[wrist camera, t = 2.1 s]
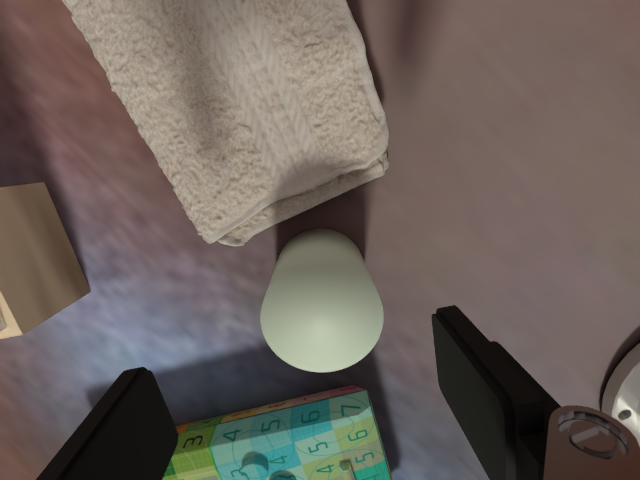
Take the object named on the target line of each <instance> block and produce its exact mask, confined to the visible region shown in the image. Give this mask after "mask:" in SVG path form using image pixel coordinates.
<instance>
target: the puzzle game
mask: <svg viewBox="0 0 640 480" xmlns="http://www.w3.org/2000/svg"><path fill="white" fill-rule="evenodd" d="M175 427H176V429H177V432H178V443H177V446H176V449H175V451H174V453H173V456H172V458H171V460H170V463H169V465H168V467H167V470H166V472H165V474H164V477H163V479H162V480H393V479H392V475H391V472H390V468H389V465H388V461H387V457H386V454H385V450H384V447H383V443H382V439H381V436H380V432H379V428H378V425H377V421H376V418H375V414H374V410H373V407H372V403H371V400H370V396H369V392H368V390H365V389H363V388H360V387H357V386H353V385H349V386H345V387H341V388H336V389H332V390H328V391H324V392H319V393H315V394H311V395H306V396H302V397H298V398H294V399H289V400H285V401H281V402H277V403H272V404H268V405H264V406H259V407H255V408H251V409H247V410H242V411H238V412H234V413H229V414H225V415H221V416H217V417H212V418H208V419H204V420H200V421H195V422H191V423H187V424H182V425H178V426H175Z"/></svg>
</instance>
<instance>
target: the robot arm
mask: <svg viewBox="0 0 640 480" xmlns="http://www.w3.org/2000/svg"><path fill="white" fill-rule="evenodd" d="M432 326H433V335H434V345H435V354H436V364H437V373H438V382H439V386H440V389H441V392H442V394H443V396H444V397H445V399H446V401H447V403H448V405H449V407H450V408H451V410H452V412H453V414H454V416H455V417H456V419H457V421H458V423H459V425H460V426H461V428H462V430H463V432H464V434H465V436H466V437H467V439H468V441H469V443H470V445H471V446H472V448H473V450H474V452H475V454H476V455H477V457H478V459H479V461H480V463H481V464H482V466H483V468H484V470H485V472H486V474H487V475H488V477H489V479H490V480H640V343H639V344H637V345H636V346H635V347H634V348H633V349H632V350H631V351H630V352H629V353H627V355H626V356H625V357H624V358H623V359H622V361H621V362H620V363H619V364H618V366H617V367H616V368H615V370H614V372H613V374H612V375H611V377H610V379H609V380H608V383H607V386H606V389H605V391H604V394H603V401H602V409H601V410H602V412H601V411H598V410H595V409H593V408H589V407H583V406H564V407H561V406H560V405H559V404H558V403H557V402H556V401H555V400H554V399H553V398H552V397H551V396H550V395H549V394H548V393H547V392H546V391H545V390H544V389H543V388H542V387H541V386H540V385H539V384H538V383H537V382H536V381H535V380H534V379H533V378H532V377H531V375H530V374H529V373H528V372H527V371H526V370H525V369H524V368H523V367H522V366H521V365H520V364H519V363H518V362H517V361H516V360H515V359H514V358H513V357H512V356H511V355H510V354H509V353H508V352H507V351H506V350H505V349H504V348H503V347H502V346H501V345H500V344H499V343H498V342H495V341H492V342H490V341H489V340H488V339H487V338H486V337H485V336H484V335H483V334H482V333H481V332H480V331H479V330H478V329H477V328H476V326H475V325H474V324H473V323H472V322H471V321H470V320H469V319H468V318H467V317H466V316H465V315H464V314H463V313H462V312H461V310H460V309H459V308H458V307H457V306H455V305H453V306H448V307H443V308H438V309H437V311H436V314H432ZM177 443H178V432H177V429H176V427H175V425H174V422H173V420H172V418H171V415H170V413H169V411H168V408H167V406H166V403H165V401H164V399H163V396H162V394H161V392H160V389H159V387H158V385H157V382H156V380H155V377H154V375H153V373H152V372H151V371H149V370H147V369H146V368H145V367H140V368H135V369H130V370H126V371H123V372H122V373H121V375H120V376H119V377H118V378H117V380H116V381H115V382H114V383H113V384H112V386H111V387H110V388H109V389H108V391H107V392H106V393H105V394H104V396H103V397H102V398H101V399H100V401H99V402H98V403H97V404H96V406H95V407H94V408H93V409H92V411H91V412H90V413H89V414H88V416H87V417H86V418H85V419H84V421H83V422H82V423H81V424H80V426H79V427H78V428H77V429H76V431H75V432H74V433H73V434H72V435H71V437H70V438H69V439H68V440H67V442H66V443H65V444H64V445H63V447H62V448H61V449H60V450H59V452H58V453H57V454H56V455H55V457H54V458H53V459H52V460H51V462H50V463H49V464H48V465H47V467H46V468H45V469H44V470H43V472H42V473H41V474H40V475H39V477H38V478H37V479H36V480H162V479H163V477H164V474H165V472H166V470H167V467H168V465H169V463H170V460H171V458H172V456H173V453H174V451H175V449H176V446H177Z"/></svg>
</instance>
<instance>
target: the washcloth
mask: <svg viewBox="0 0 640 480" xmlns="http://www.w3.org/2000/svg"><path fill="white" fill-rule="evenodd" d="M62 2H63V3H64V4H65V6H66V7H67V8H68V9H69V10H70V11H71V13H72V17H71V18H72V20H73V22H74V23H75V24H76V26H77V28H78V29H79V30H80V31H81V32H82V33H83V35H84V37H85V39H86V41H87V42H88V43H89V44H90V47H91V48H92V50H93V54H94V56H95V58H96V59H97V60H98V61H99V63H100V64H101V66H102V67H103V69H104V70H105V72H106V76H107V77H108V80H109V81H110V85H111V90H112V91H114V92H115V93H116V94H117V95H118V96H119V97H120V99H121V101H122V103H123V104H124V105H125V108H126V109H127V111H128V113H129V114H130V117H131V119H132V120H133V121H134V123H135V124H136V125H137V126H138V132H139V133H140V135H141V137H143V138H144V140H145V142H146V143H147V144H148V145H149V147H150V148H151V150H152V152H153V153H154V155H155V158H156V159H157V161H158V165H159V166H160V167H161V168H162V169H163V172H164V174H165V175H166V176H167V178H168V180H169V181H170V182H171V184H172V185H173V186H174V188H173V191H174V192H175V193H176V195H177V197H178V199H179V200H180V201H181V203H182V204H181V206H182V208H183V209H185V211H186V214H187V215H188V218H189V219H190V220H192V222H193V224H194V226H195V228H196V229H197V231H198V235H202V237H203V240H205V241H207V243H209V244H211V243H213V242H215V241H218V242H220V243H221V244H226V245H230V246H244V245H245V244H244V243H245V242H247V241H248V240H249V239H250V238H251V237H252V236H253V235H255V234H257V233H259V232H261V231H263V230H265V229H266V228H269V227H271V226H273V225H275V224H277V223H280V222H282V221H284V220H287V219H288V218H291V217H293V216H295V215H297V214H299V213H301V212H304V211H306V210H308V209H310V208H313V207H315V206H317V205H319V204H320V203H323V202H325V201H327V200H329V199H332V198H334V197H336V196H338V195H340V194H342V193H344V192H347V191H349V190H351V189H353V188H355V187H357V186H359V185H362V184H364V183H367V182H369V181H371V180H373V179H375V178H377V177H381V176H383V175H384V174H385V172H384V170H386V169H387V168H388V167H389V160H388V159H387V157H386V156H387V153H386V148H387V146H388V138H389V132H388V126H387V120H386V116H385V112H384V109H383V107H382V104H381V102H380V99H379V97H378V94H377V91H376V89H375V86H374V81H373V77H372V73H371V71H370V68H369V65H368V62H367V57H366V49H365V44H364V41H363V38H362V35H361V33H360V31H359V29H358V27H357V24H356V22H355V21H354V18H353V16H352V14H351V11H350V9H349V6H348V4H347V2H346V0H62Z"/></svg>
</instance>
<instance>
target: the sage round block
mask: <svg viewBox="0 0 640 480" xmlns="http://www.w3.org/2000/svg"><path fill="white" fill-rule="evenodd" d="M260 318H261V327H262V332H263V335H264V337H265V340H266V341H267V343H268V345H269V346H270V348H271V349H272V350H273V352H274V353H275V354H276V355H277V356H278V357H280V358H281V359H282V360H283V361H285V362H286V363H288V364H290V365H292V366H294V367H296V368H299V369H302V370H306V371H310V372H333V371H337V370H341V369H344V368H347V367H349V366H351V365H353V364H355V363H357V362H358V361H360V360H361V359H363V358H364V357H365V356H366V355H367V354H368V353H369V352H370V351H371V350H372V349H373V347H374V346H375V344H376V343H377V341H378V339H379V337H380V334H381V331H382V327H383V319H384V314H383V307H382V303H381V300H380V297H379V295H378V293H377V290H376V288H375V286H374V283H373V281H372V279H371V276H370V274H369V272H368V269H367V267H366V265H365V262H364V260H363V258H362V255H361V253H360V251H359V249H358V248H357V246H356V245H355V244H354V243H353V242H352V241H351V240H350V239H349V238H348V237H347V236H345V235H343V234H342V233H339V232H337V231H334V230H330V229H311V230H307V231H304V232H302V233H299V234H298V235H296V236H294V237H293V238H292V239H291V240H290V241H289V242H287V244H286V245H285V246H284V247H283V249H282V251H281V253H280V255H279V257H278V260H277V263H276V266H275V269H274V272H273V275H272V278H271V281H270V283H269V286H268V289H267V292H266V295H265V298H264V301H263V304H262V308H261V316H260Z"/></svg>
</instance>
